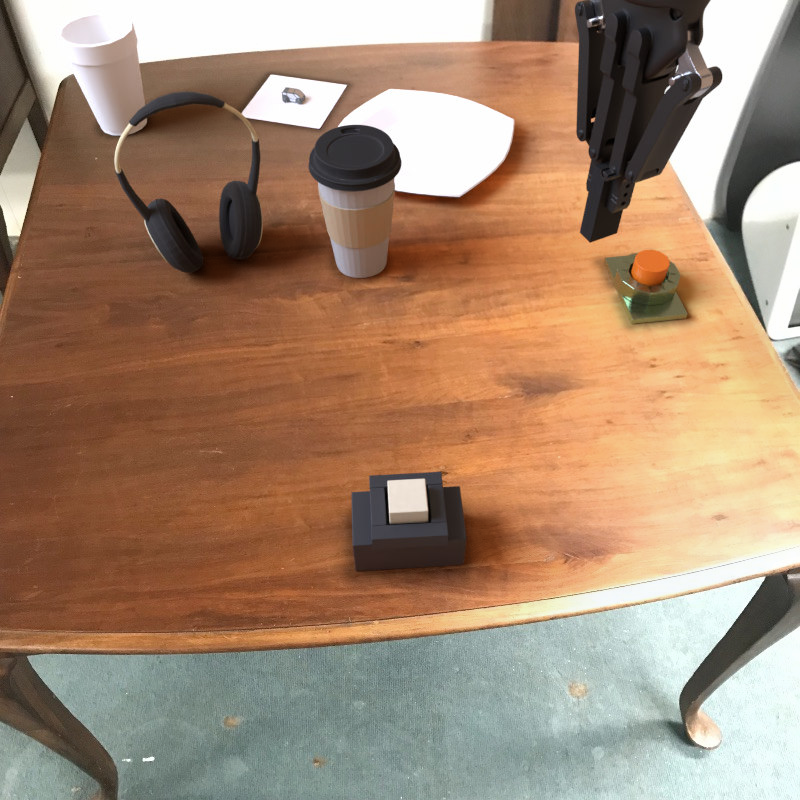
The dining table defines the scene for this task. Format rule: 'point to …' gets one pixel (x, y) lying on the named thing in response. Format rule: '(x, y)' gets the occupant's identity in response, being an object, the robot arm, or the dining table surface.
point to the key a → (407, 501)
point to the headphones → (236, 203)
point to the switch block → (645, 292)
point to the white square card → (294, 101)
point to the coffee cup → (357, 194)
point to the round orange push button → (650, 267)
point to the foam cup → (105, 67)
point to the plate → (438, 139)
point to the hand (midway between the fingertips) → (598, 232)
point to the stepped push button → (407, 527)
